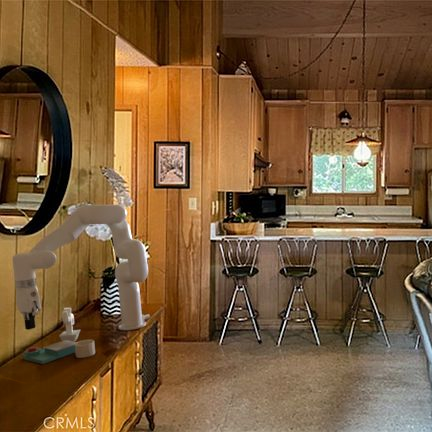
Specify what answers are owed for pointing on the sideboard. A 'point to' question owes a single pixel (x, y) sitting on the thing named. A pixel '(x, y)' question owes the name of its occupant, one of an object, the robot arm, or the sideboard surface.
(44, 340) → the sideboard surface
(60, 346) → the weighing plate
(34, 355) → the scale
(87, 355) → the cup
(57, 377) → the sideboard surface
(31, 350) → the tare button
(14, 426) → the sideboard surface
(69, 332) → the figurine
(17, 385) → the sideboard surface
